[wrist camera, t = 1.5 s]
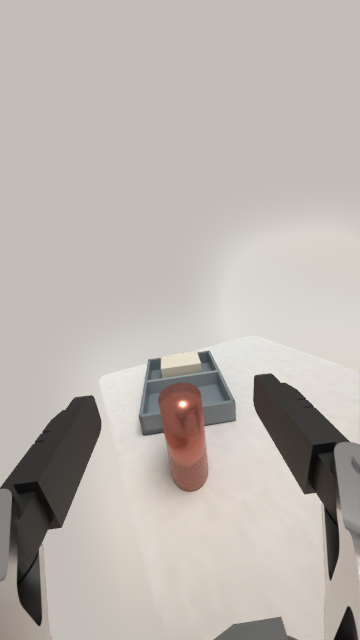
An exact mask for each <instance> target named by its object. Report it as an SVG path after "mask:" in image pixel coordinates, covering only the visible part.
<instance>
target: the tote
mask: <svg viewBox="0 0 360 640" xmlns="http://www.w3.org/2000/svg"><path fill="white" fill-rule="evenodd" d="M197 353H198V356H199V359H200V362H201V368H202V373H195V374H188V375H182V376H175V377H168V378H162V373H161V358H156V359H149V360H148V364H147V371H146V377H145V383H144V389H143V395H142V402H141V408H140V414H139V419H140V423H141V427H142V431H143V435H148V434H154V433H160V432H164V429H163V424H162V419H161V414H160V409H159V404H158V398H159V395H160V393H161V392H162V391H163V390H164V389H165V388H166V387H168V386H169V385H172V384H175V383H180V382H184V383H190V384H192V385H194V386H196V387H197V388H198V389H199V391H200V393H201V399H202V409H203V420H204V425H209V424H215V423H221V422H227V421H233V420H236V413H235V400H234V398H233V396H232V394H231V392H230V390H229V388H228V386H227V384H226V382H225V380H224V378H223V376H222V374H221V372H220V370H219V368H218V367H217V365H216V363H215V361H214V359H213V357H212V355H211V353H210V351H204V352H197Z"/></svg>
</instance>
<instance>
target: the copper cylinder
mask: <svg viewBox="0 0 360 640" xmlns="http://www.w3.org/2000/svg"><path fill="white" fill-rule="evenodd" d="M158 404H159V409H160V414H161V419H162V424H163V429H164V434H165V440H166V445H167V450H168V455H169V460H170V465H171V470H172V475H173V479H174V481H175V483H176V484H177V485H178V486H179V487H180V488H181V489H183V490H186V491H194V490H197V489H198V488H200V487H201V486H202V485H203V484H204V483H205V481H206V479H207V475H208V463H207V452H206V441H205V431H204V420H203V409H202V399H201V393H200V391H199V389H198V388H197V387H196V386H194V385H192V384H190V383H184V382H180V383H175V384H172V385H169V386H168V387H166V388H165V389H164V390H163V391H162V392H161V393H160V395H159V398H158Z"/></svg>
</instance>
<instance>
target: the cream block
mask: <svg viewBox="0 0 360 640" xmlns="http://www.w3.org/2000/svg"><path fill="white" fill-rule="evenodd" d="M161 373H162V378H168V377H175V376H182V375H188V374H195V373H202V368H201V362H200V359H199V356H198V353H197V351H196V352H189V353H183V354H175V355H168V356H162V357H161Z"/></svg>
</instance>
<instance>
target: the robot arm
mask: <svg viewBox="0 0 360 640" xmlns="http://www.w3.org/2000/svg"><path fill="white" fill-rule="evenodd" d="M253 401H254V407H255V410H256V412H257V414H258V416H259V418H260V419H261V421H262V423H263V425H264V426H265V428H266V430H267V431H268V433H269V435H270V436H271V438H272V440H273V442H274V443H275V445H276V447H277V448H278V450H279V452H280V454H281V455H282V457H283V459H284V460H285V462H286V464H287V465H288V467H289V469H290V471H291V472H292V474H293V476H294V477H295V479H296V481H297V482H298V484H299V486H300V488H301V489H302V491H303V493H304V494H310V493H317V495H318V497H319V498H320V500H321V501H322V527H323V546H324V564H325V604H324V638H325V640H360V444H356V443H352V442H350V441H349V440H347V439H346V438H345V437H344V436H343V435H342V434H341V433H340V432H339V431H338V430H337V429H336V428H335V427H334V426H333V425H332V424H331V423H330V422H329V421H328V420H327V419H326V418H325V417H324V416H323V415H322V414H321V413H320V412H319V411H318V410H317V409H316V408H314V407H313V405H312V404H311V403H310V402H309V401H308V400H306V398H305V397H304V396H303V395H302V394H301V393H300V392H299V391H298V390H297V389H295V388H293V387H292V386H290V385H288V384H286V383H280V381H279V380H278V379H277V378H276V377H275V376H274V375H273V374H271V373H269V374H261V375H255V377H254V397H253ZM100 431H101V418H100V415H99V411H98V408H97V405H96V402H95V399H94V397H93V396H92V395H90V396H82V397H75V398H74V399H73V400H72V401H71V403H70V404H69V406H68V407H67V408H66V410H63V411H61V412H60V413H59V414H58V415H57V416H56V417H54V418H53V419H52V420H51V421H50V422H49V424H48V425H47V426H46V428H45V429H44V430H43V433H42V434H40V436H39V437H38V438H37V440H36V441H35V444H33V445H32V446H31V448H30V449H29V450H28V452H27V453H26V455H25V456H24V457H23V458H22V460H21V461H20V462H19V463H18V465H17V466H16V468H15V469H14V470H13V472H12V473H11V474H10V475H9V477H8V478H7V479H6V481H5V482H4V483H3V485H2V486H1V488H0V640H52V638H51V634H50V629H49V619H48V606H47V591H46V576H45V562H44V548H43V544H42V541H43V539H44V537H45V535H46V532H47V530H49V529H55V528H61V527H62V526H63V523H64V520H65V518H66V516H67V513H68V511H69V508H70V506H71V503H72V501H73V498H74V496H75V493H76V491H77V488H78V486H79V484H80V481H81V479H82V476H83V474H84V471H85V469H86V466H87V464H88V462H89V459H90V457H91V454H92V452H93V449H94V447H95V444H96V442H97V439H98V437H99V434H100ZM214 640H297V639H295V638H293V637H290V636H287V634H286V631H285V628H284V625H283V622H282V619H281V617H277V618H271V619H265V620H259V621H252V622H246V623H240V624H234V625H232V626H231V627H230V628H228V629H227V630H226V631H224V632H223V633H222V634H220V635H219V636H218V637H216V638H215V639H214Z"/></svg>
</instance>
